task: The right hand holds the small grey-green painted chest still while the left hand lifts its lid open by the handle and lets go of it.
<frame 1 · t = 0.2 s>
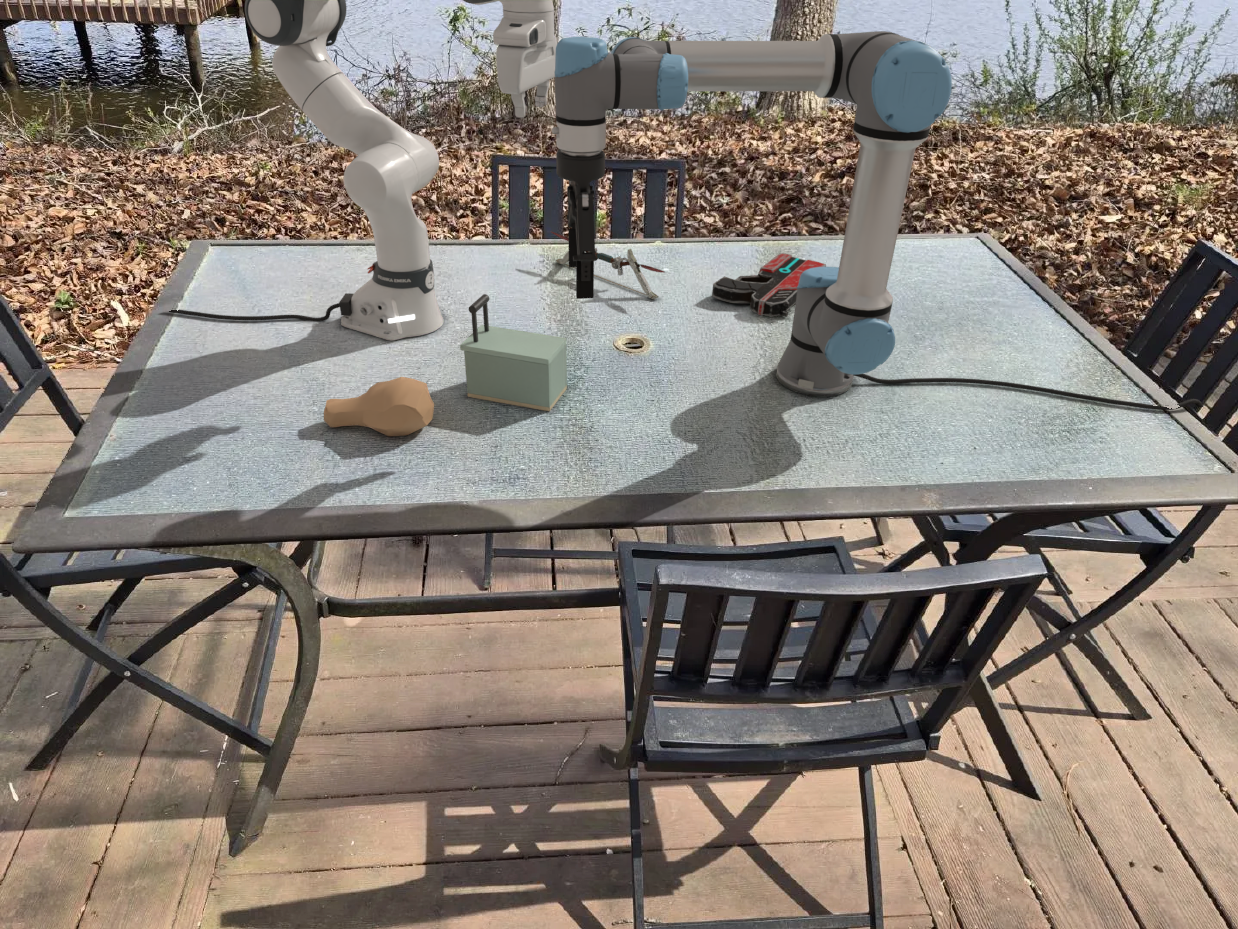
left hand: (531, 111, 161), 48 cm above the table, tool pointing down, fingers open, 8 cm apart
right hand: (580, 281, 146), 28 cm above the table, tool pointing down, fingers open, 13 cm apart
squash: (381, 427, 159), on the table
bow: (605, 280, 219), on the table
gun: (770, 291, 216), on the table
lid: (513, 326, 163), point 14 cm above the table, hinge at 0.0°
chest: (517, 392, 171), on the table
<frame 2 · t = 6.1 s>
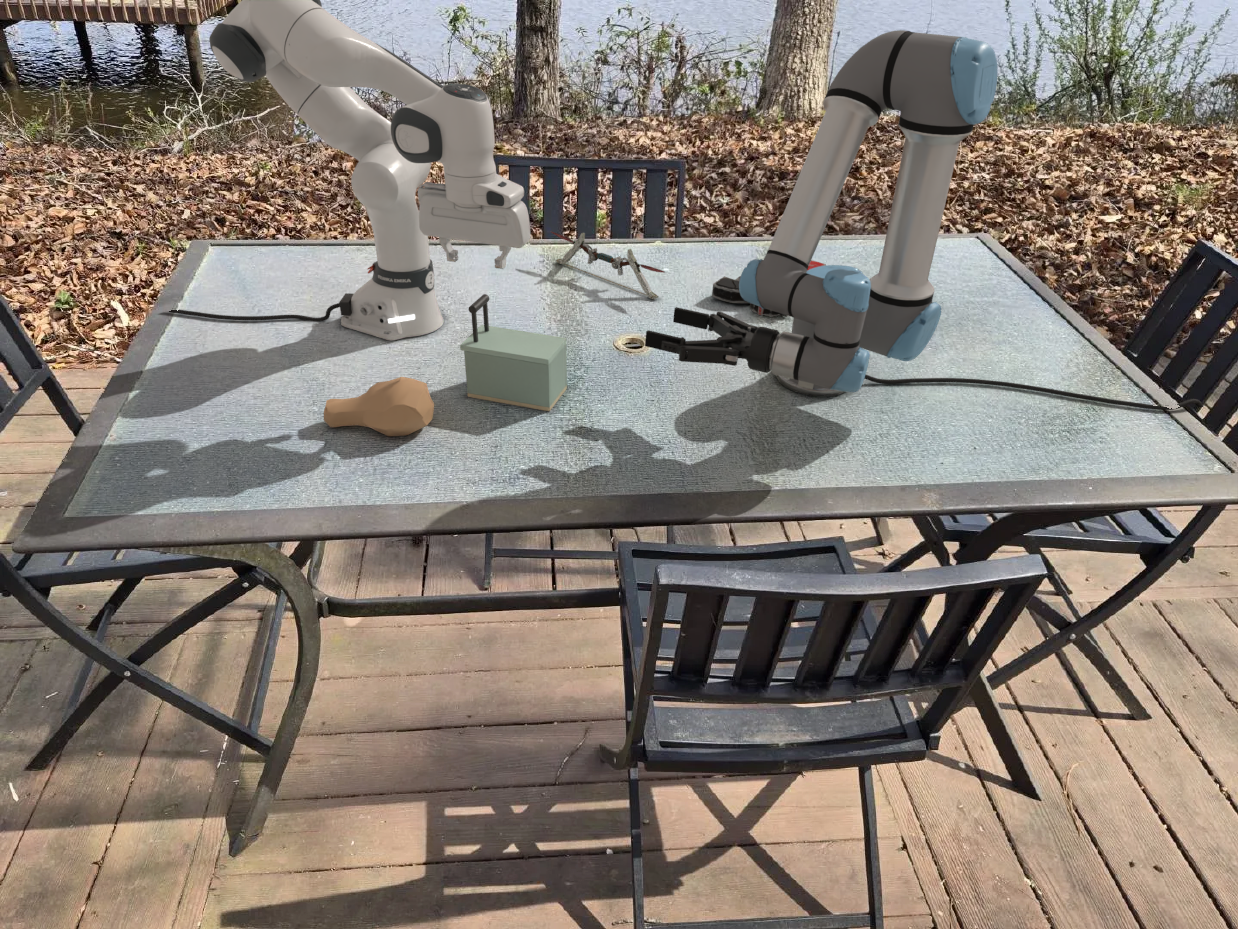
left hand: (476, 264, 159), 25 cm above the table, tool pointing down, fingers open, 8 cm apart
right hand: (660, 325, 157), 17 cm above the table, tool horizontal, fingers open, 13 cm apart
nothing on the table moved.
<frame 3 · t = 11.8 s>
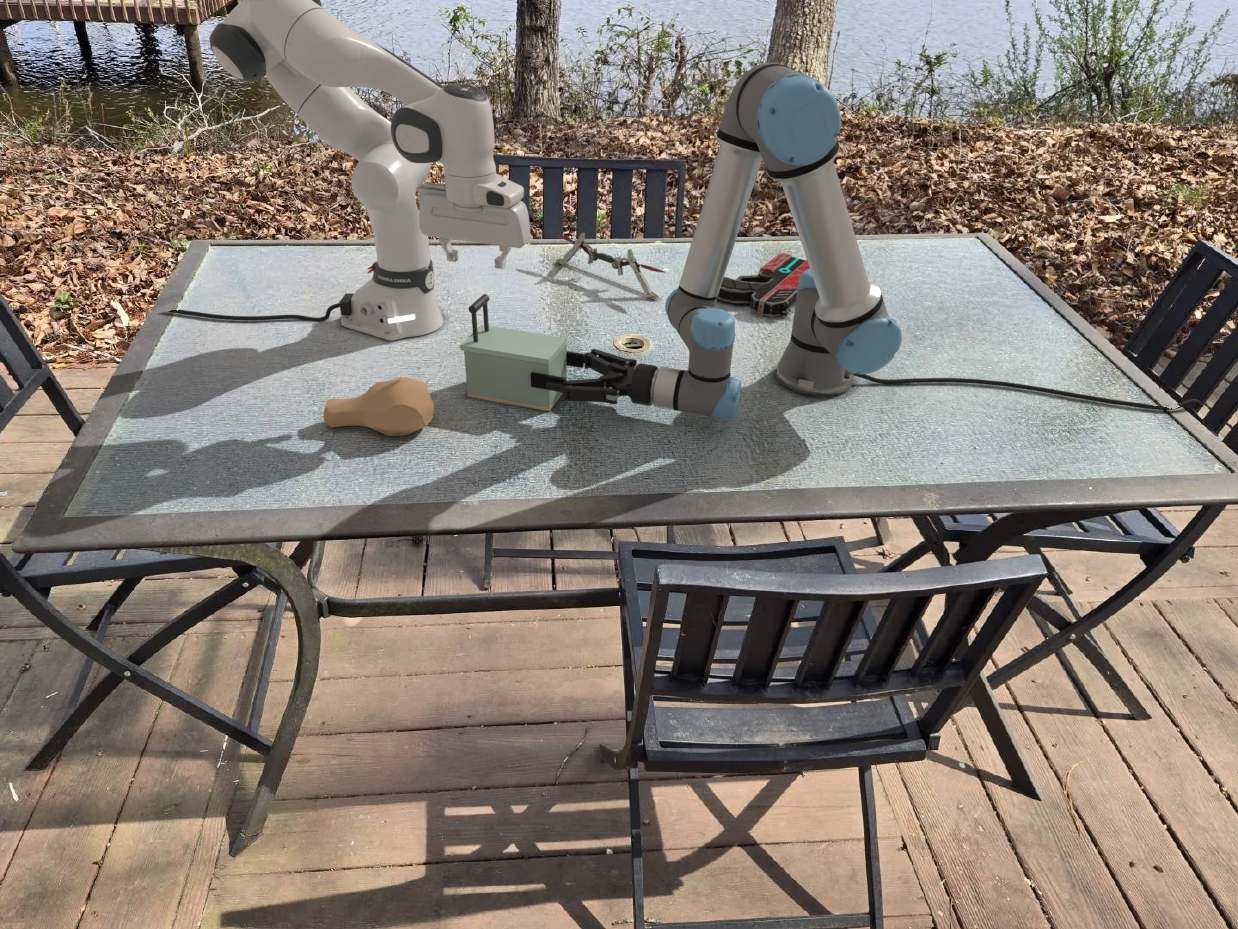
left hand: (476, 264, 159), 25 cm above the table, tool pointing down, fingers open, 8 cm apart
right hand: (541, 367, 166), 6 cm above the table, tool horizontal, fingers closed on chest, 10 cm apart
chest: (517, 392, 171), on the table, touching right hand
everything else where it was.
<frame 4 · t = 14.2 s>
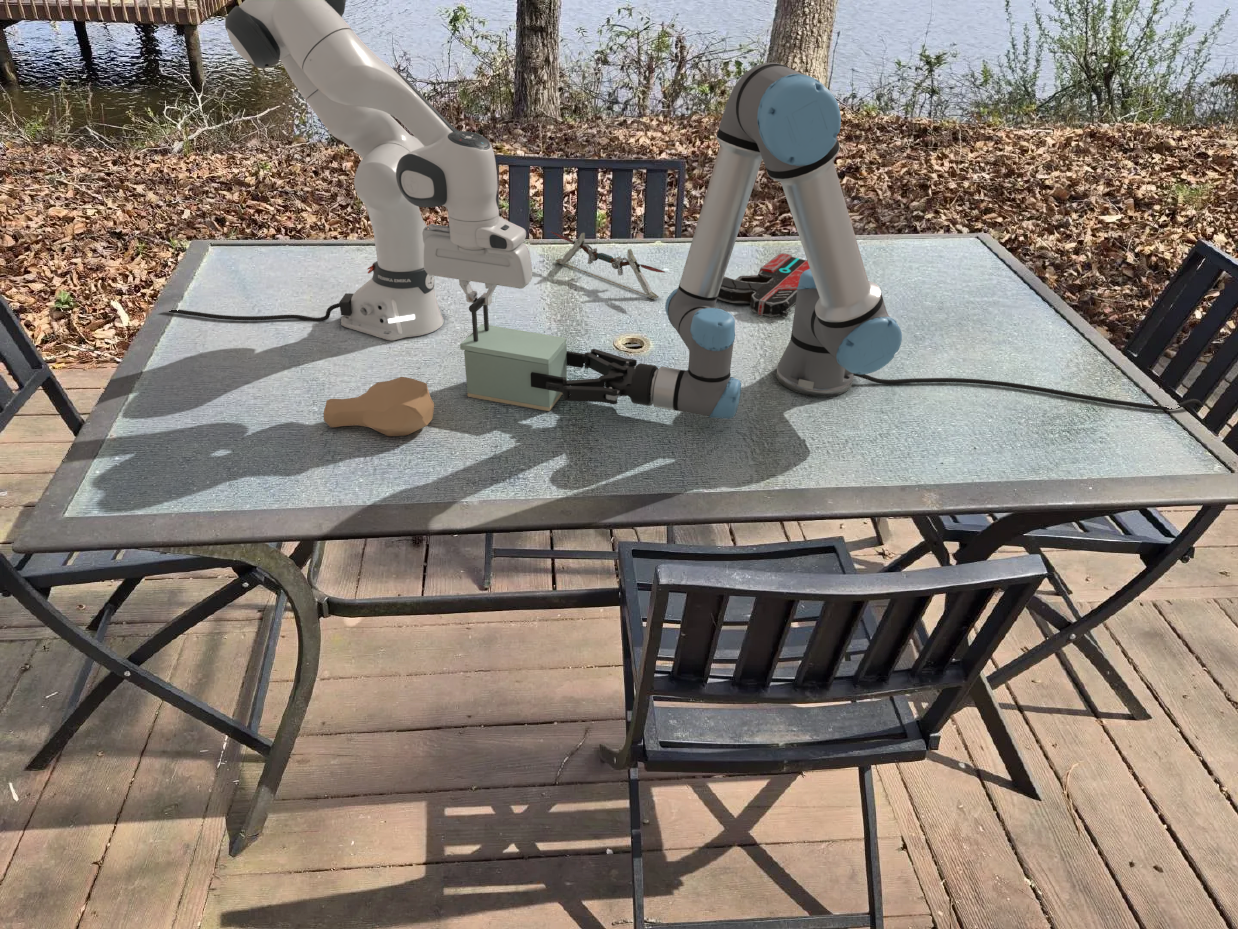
left hand: (479, 302, 163), 18 cm above the table, tool pointing down, fingers closed on lid, 2 cm apart
right hand: (541, 367, 166), 6 cm above the table, tool horizontal, fingers closed on chest, 10 cm apart
lid: (513, 325, 163), point 14 cm above the table, hinge at 0.4°, touching left hand
chest: (517, 392, 171), on the table, touching right hand
everything else where it was.
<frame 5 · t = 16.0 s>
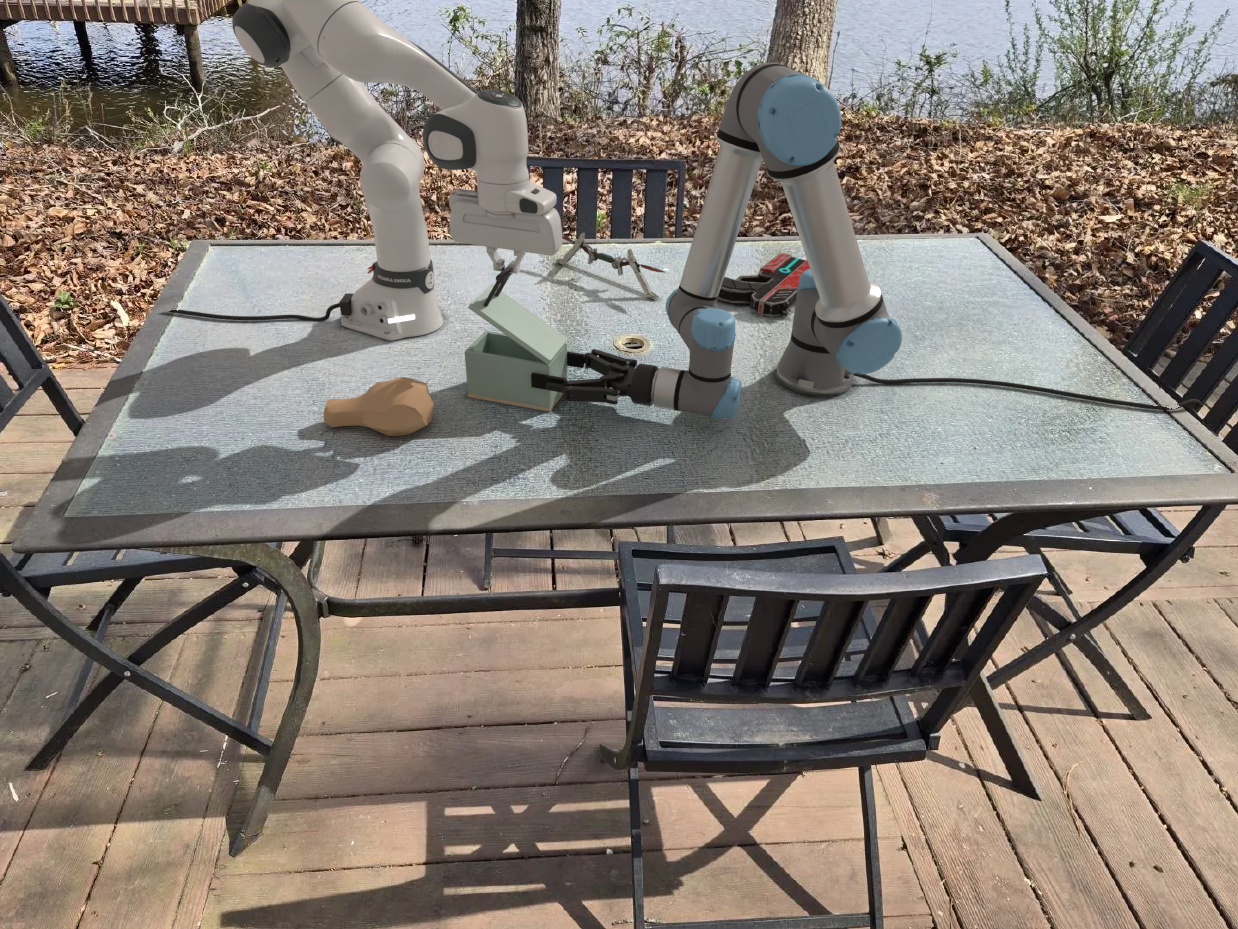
left hand: (507, 271, 157), 25 cm above the table, tool pointing down, fingers closed
right hand: (542, 367, 166), 6 cm above the table, tool horizontal, fingers closed on chest, 10 cm apart
lid: (528, 309, 160), point 18 cm above the table, hinge at 30.2°, touching left hand
chest: (518, 392, 171), on the table, touching right hand
everything else where it was.
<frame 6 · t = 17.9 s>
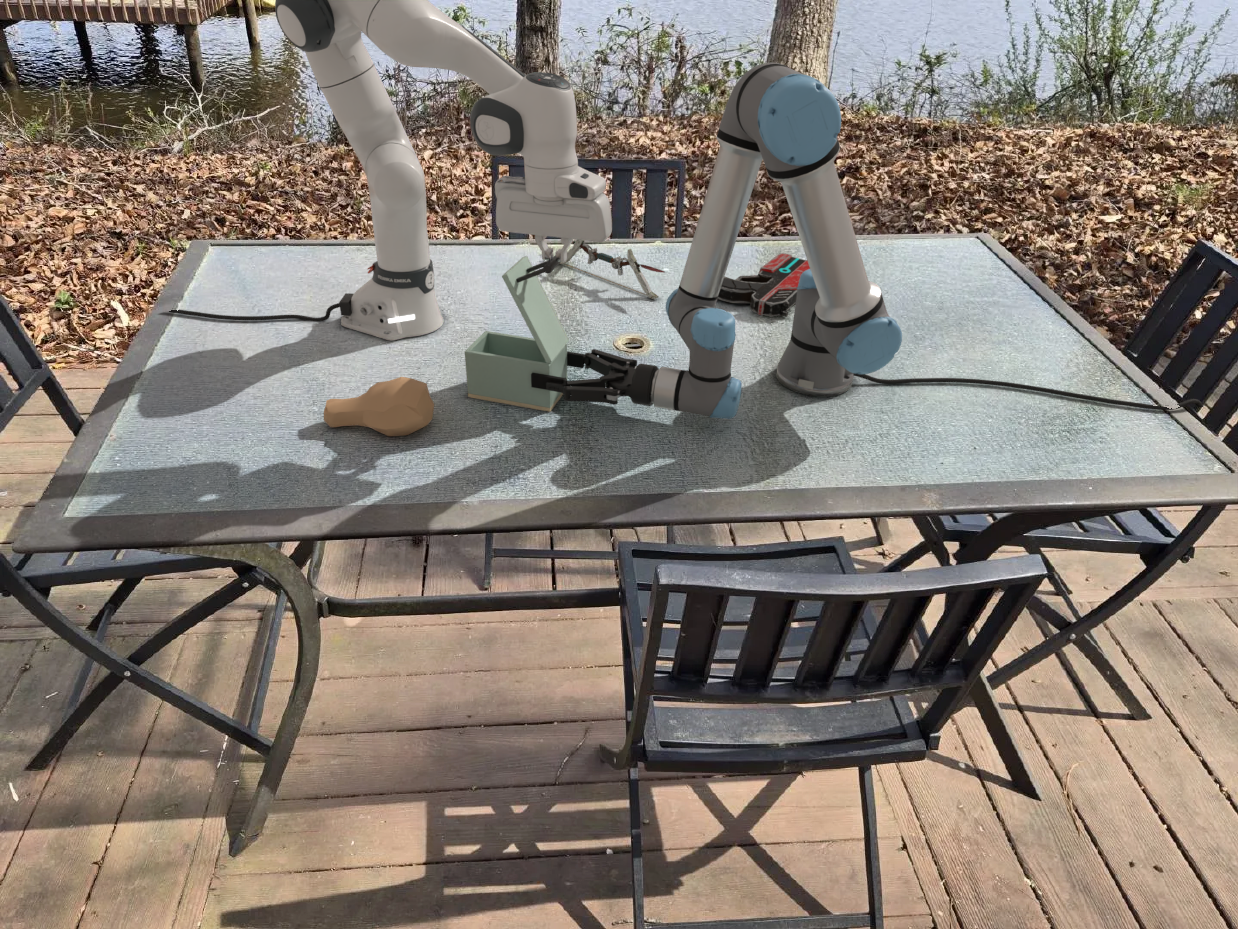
left hand: (554, 260, 153), 28 cm above the table, tool pointing down, fingers closed
right hand: (542, 367, 166), 6 cm above the table, tool horizontal, fingers closed on chest, 10 cm apart
lid: (553, 303, 158), point 20 cm above the table, hinge at 62.6°, touching left hand
chest: (518, 392, 171), on the table, touching right hand
everything else where it was.
when the right hand's fingers open (6 cm above the table, at t = 21.8 s): chest stays where it is, on the table.
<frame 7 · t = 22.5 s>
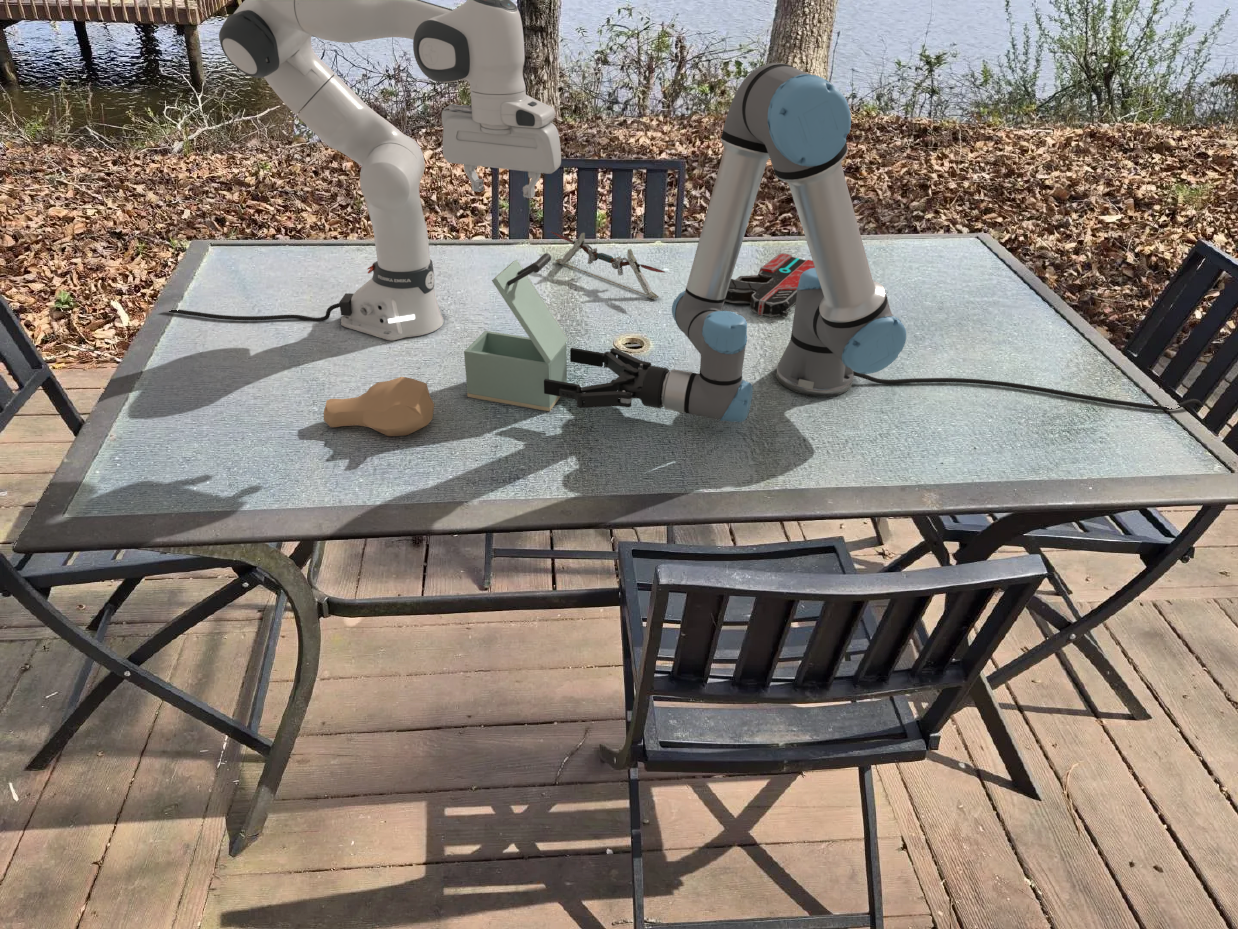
left hand: (503, 193, 150), 38 cm above the table, tool pointing down, fingers open, 8 cm apart
right hand: (557, 369, 165), 6 cm above the table, tool horizontal, fingers open, 13 cm apart
lid: (546, 302, 158), point 20 cm above the table, hinge at 55.7°
chest: (517, 392, 171), on the table
everything else where it was.
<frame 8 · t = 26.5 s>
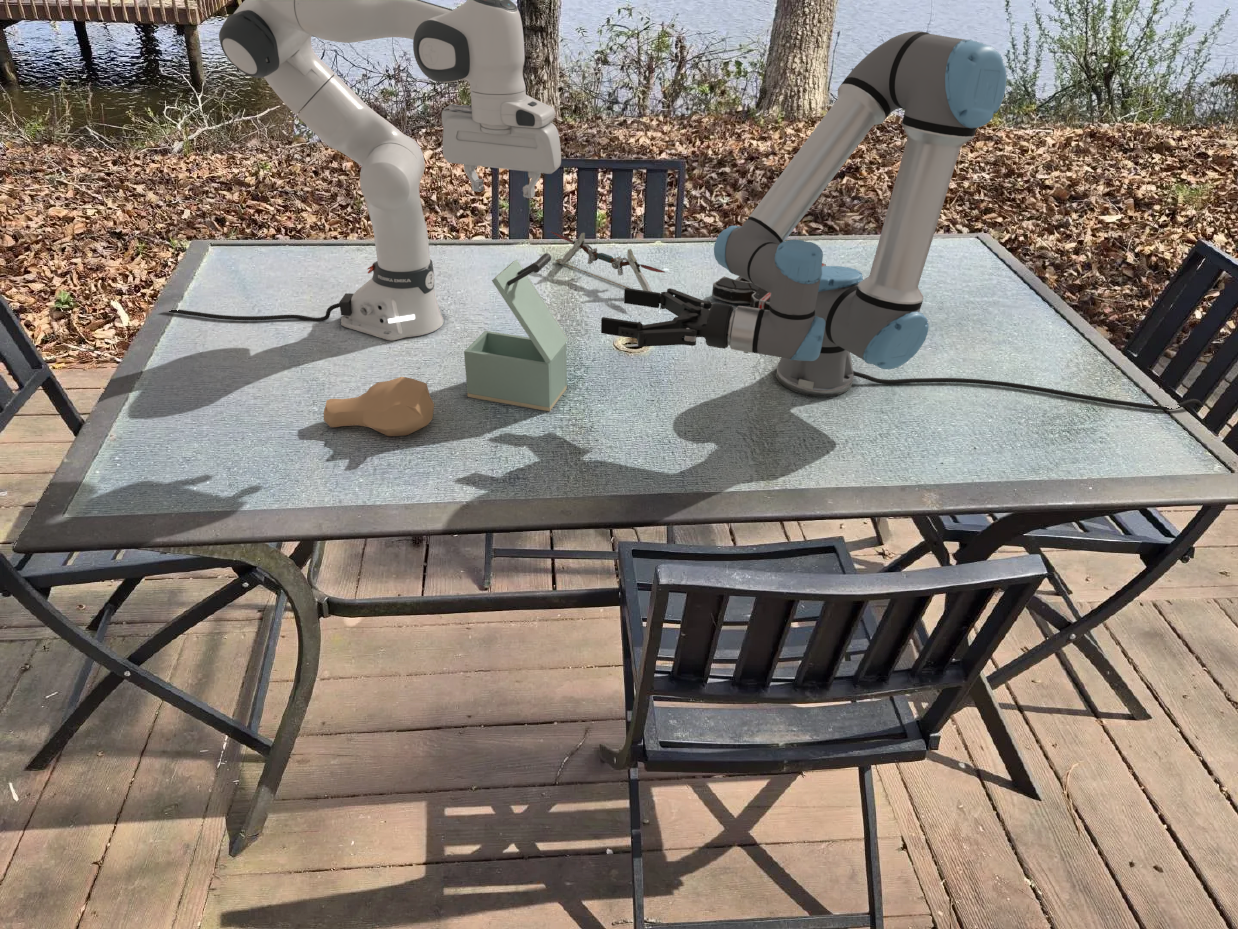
left hand: (503, 193, 150), 38 cm above the table, tool pointing down, fingers open, 8 cm apart
right hand: (613, 309, 155), 20 cm above the table, tool horizontal, fingers open, 13 cm apart
nothing on the table moved.
at the end: lid at +56° (first picture: +0°); the left hand is holding nothing; the right hand is holding nothing; chest tilted 0°; chest never tilted more than 1° during the clip; chest moved 0.0 cm from its start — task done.
